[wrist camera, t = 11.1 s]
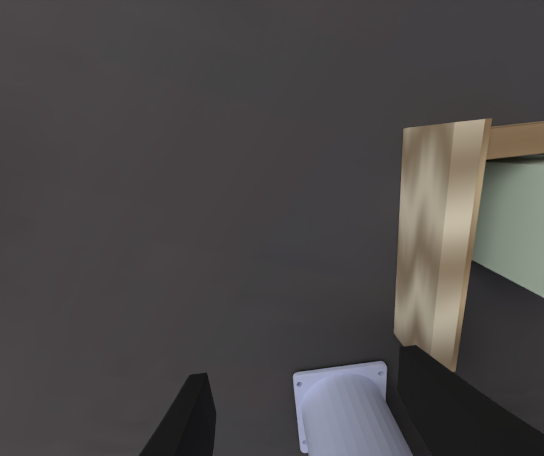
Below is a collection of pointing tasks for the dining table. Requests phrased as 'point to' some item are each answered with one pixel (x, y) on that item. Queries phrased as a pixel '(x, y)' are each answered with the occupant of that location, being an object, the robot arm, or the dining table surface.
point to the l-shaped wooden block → (445, 224)
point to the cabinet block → (513, 220)
